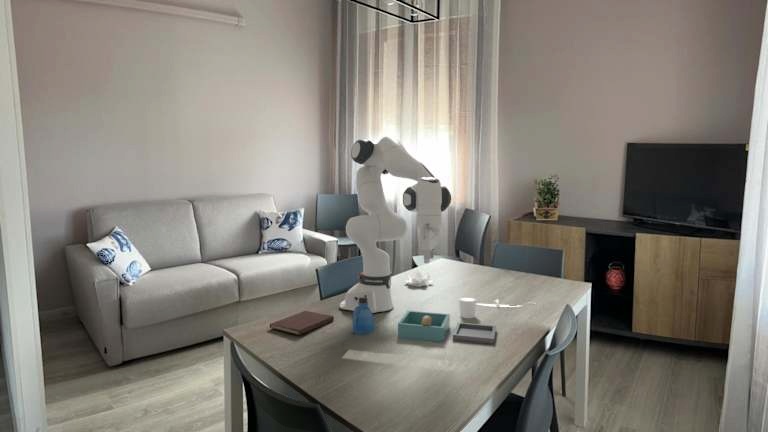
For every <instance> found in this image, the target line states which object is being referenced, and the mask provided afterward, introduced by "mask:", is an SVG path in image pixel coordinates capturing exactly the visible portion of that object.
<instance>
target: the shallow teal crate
mask: <svg viewBox="0 0 768 432" xmlns="http://www.w3.org/2000/svg"><path fill="white" fill-rule="evenodd" d="M450 315H451V314H450V313H439V312H429V311H427V312H426V311H417V310H416V311H415V310H407V311H406V313H405V314H404V315H403V317H402V318H401V319H400V320H399V322H398V324H397V338H400V339H408V340H410V339H411V340H419V341H428V342H429V341H430V342H431V341H432V342H437V343H438V342H440V343H443V342H444V341H445V339H446V336H447V334H448V331H449V329H450V323H451V322H450V319H451V318H450V317H451V316H450ZM424 316H430V317H431V319H432V322H431V325H430V326H427V325H421V323H422V319H423V317H424Z"/></svg>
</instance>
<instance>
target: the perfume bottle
mask: <svg viewBox="0 0 768 432" xmlns="http://www.w3.org/2000/svg"><path fill="white" fill-rule="evenodd" d="M358 305H359V306H357V307H356V308H355V310H354V311H352V329H353V330H354V333H355V335H361V334H362V335H363V334H373V333H374V315H373V314H374V313H372V312H371V310H370V309H369V307H368V306H367V305H368V302H367V298H359V302H358Z"/></svg>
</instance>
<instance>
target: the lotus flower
mask: <svg viewBox="0 0 768 432" xmlns="http://www.w3.org/2000/svg"><path fill="white" fill-rule="evenodd" d="M407 277H408V280H407V279H404V280H405V282H407V285H408V286H407V287H409V286H411V287H412V286H413V287H417V288H421V287H426V286H427V287H428V286H429V285H431V284H432V283H433V282H434V279H432V280H430V279H431V275H430V274H429V275H428V273H426V274H425V276H423V275H422V273H421V272H420V271H419V270H416V271H415V272H414V273H413V274H412V277H410V276H409V275H407Z"/></svg>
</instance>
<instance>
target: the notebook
mask: <svg viewBox="0 0 768 432" xmlns="http://www.w3.org/2000/svg"><path fill="white" fill-rule="evenodd" d="M334 319H335V318H334V315H331V314H325V313H324V314H323V313H317V312H314V311H309V310H303V311H301V312H298V313H295V314H293V315H289V316H287V317H284V318H282V319H279V320H276V321H274V322H272V323H269V328H270V329H274V330H277V331H281V332H285V333H287V334H293V335H296V336H297V335H298V336H301V335H303V334H305V333H308V332H309V331H312V330H315V329H317V328H319V327H321V326H325V325H326V324H328V323H330V322H333V321H334Z"/></svg>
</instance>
